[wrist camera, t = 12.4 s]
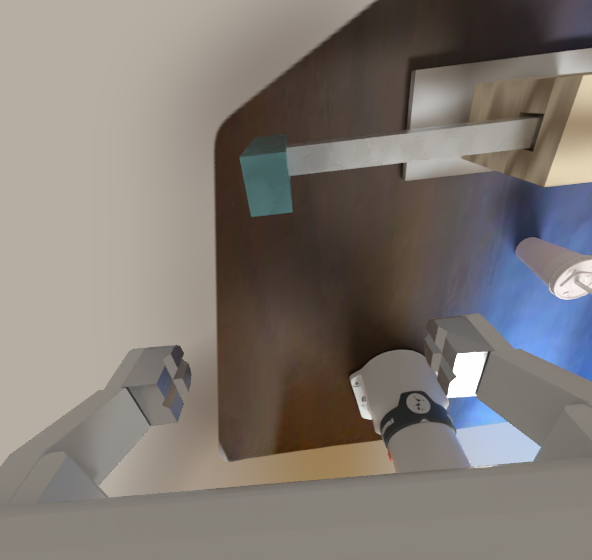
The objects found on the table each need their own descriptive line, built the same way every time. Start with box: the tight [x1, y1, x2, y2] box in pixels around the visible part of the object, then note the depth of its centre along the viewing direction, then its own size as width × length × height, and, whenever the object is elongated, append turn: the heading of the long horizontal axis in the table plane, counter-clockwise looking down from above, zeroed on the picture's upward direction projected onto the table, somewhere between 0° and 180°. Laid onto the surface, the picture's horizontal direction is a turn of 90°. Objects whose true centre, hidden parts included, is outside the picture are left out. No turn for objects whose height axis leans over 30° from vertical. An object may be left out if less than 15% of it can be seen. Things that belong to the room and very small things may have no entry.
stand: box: [402, 48, 592, 187], centre depth 29 cm, size 12×32×15 cm, turn 96°
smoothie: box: [515, 237, 592, 299], centre depth 40 cm, size 6×6×14 cm
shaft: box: [239, 114, 545, 217], centre depth 24 cm, size 4×27×11 cm, turn 96°
